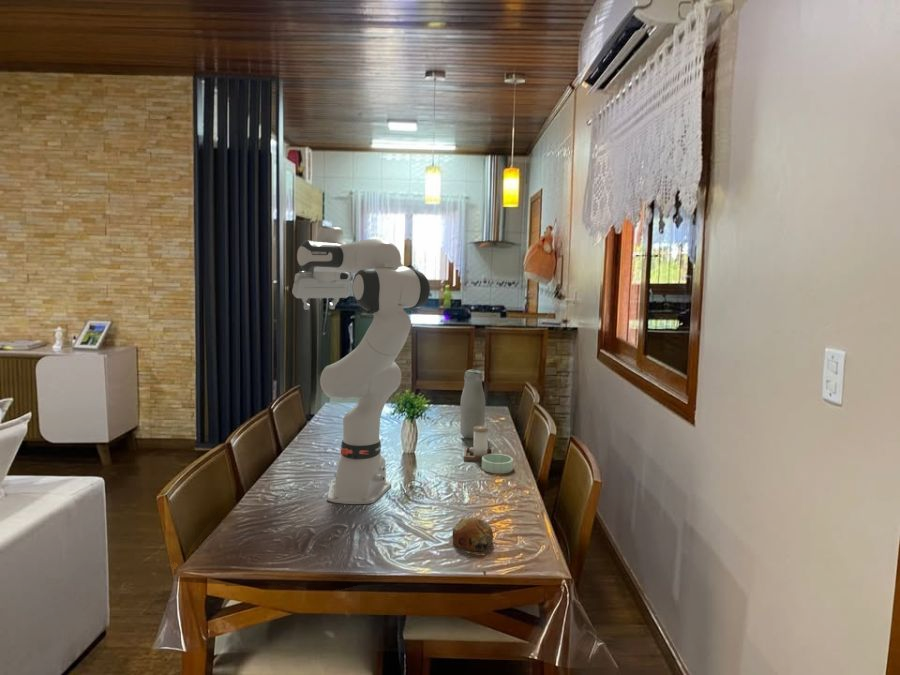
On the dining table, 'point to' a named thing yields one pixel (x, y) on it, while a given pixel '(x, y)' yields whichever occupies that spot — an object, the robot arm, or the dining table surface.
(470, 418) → the grey bottle
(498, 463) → the bowl
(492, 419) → the dining table surface
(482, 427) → the jar
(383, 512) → the dining table surface
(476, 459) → the pebble tray
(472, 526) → the bread roll
